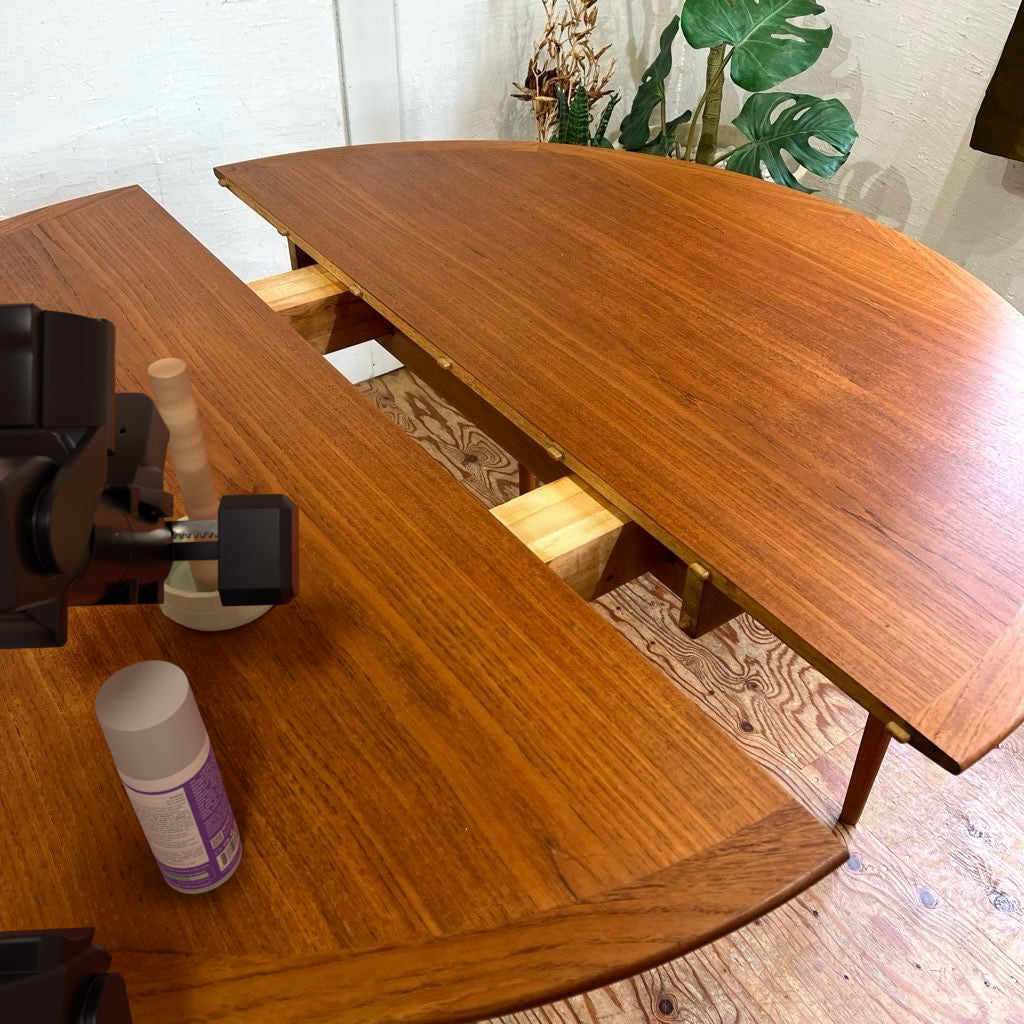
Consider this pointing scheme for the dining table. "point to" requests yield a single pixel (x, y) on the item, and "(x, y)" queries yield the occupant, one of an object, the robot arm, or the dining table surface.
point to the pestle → (188, 455)
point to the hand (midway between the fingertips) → (174, 560)
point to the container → (170, 774)
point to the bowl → (201, 602)
